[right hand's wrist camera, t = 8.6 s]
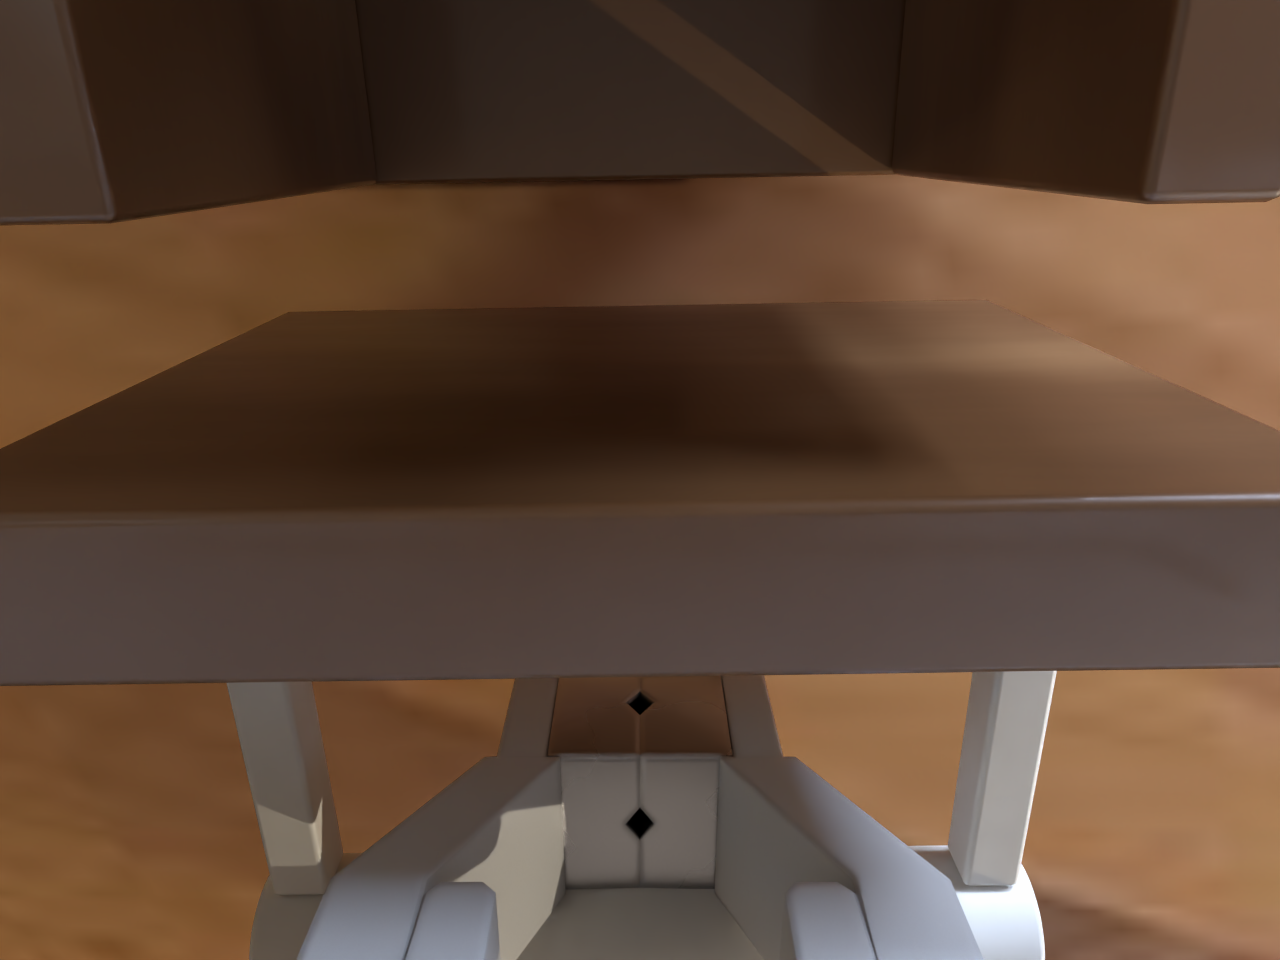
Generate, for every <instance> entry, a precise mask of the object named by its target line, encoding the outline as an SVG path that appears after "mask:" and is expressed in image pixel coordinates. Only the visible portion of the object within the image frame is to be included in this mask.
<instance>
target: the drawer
mask: <svg viewBox="0 0 1280 960" xmlns="http://www.w3.org/2000/svg"><path fill="white" fill-rule="evenodd" d="M895 174H897V175H903V176H912V177H921V178H929V179H938V180H946V181H955V182H963V183H972V184H980V185H989V186H997V187H1006V188H1014V189H1023V190H1032V191H1040V192H1049V193H1057V194H1066V195H1074V196H1083V197H1091V198H1100V199H1108V200H1117V201H1126V202H1134V203H1143V204H1180V203H1235V202H1267V201H1270V200H1272V199H1275V198H1277V197H1280V0H0V225H45V224H100V223H116V222H123V221H129V220H136V219H143V218H150V217H157V216H163V215H170V214H177V213H184V212H190V211H197V210H204V209H211V208H217V207H224V206H231V205H238V204H244V203H251V202H258V201H265V200H271V199H278V198H285V197H292V196H298V195H305V194H312V193H319V192H325V191H332V190H339V189H346V188H352V187H359V186H366V185H372V184H413V183H466V182H520V181H573V180H627V179H681V178H735V177H788V176H842V175H895ZM1217 668H1280V431H1279V430H1277V429H1274V428H1272V427H1270V426H1268V425H1265V424H1263V423H1261V422H1259V421H1257V420H1254V419H1252V418H1250V417H1248V416H1245V415H1243V414H1241V413H1239V412H1236V411H1234V410H1232V409H1230V408H1227V407H1225V406H1223V405H1221V404H1219V403H1216V402H1214V401H1212V400H1210V399H1207V398H1205V397H1203V396H1201V395H1198V394H1196V393H1194V392H1192V391H1190V390H1187V389H1185V388H1183V387H1181V386H1178V385H1176V384H1174V383H1172V382H1169V381H1167V380H1165V379H1163V378H1161V377H1158V376H1156V375H1154V374H1152V373H1149V372H1147V371H1145V370H1143V369H1140V368H1138V367H1136V366H1134V365H1132V364H1129V363H1127V362H1125V361H1123V360H1120V359H1118V358H1116V357H1114V356H1111V355H1109V354H1107V353H1105V352H1103V351H1100V350H1098V349H1096V348H1094V347H1091V346H1089V345H1087V344H1085V343H1082V342H1080V341H1078V340H1076V339H1073V338H1071V337H1069V336H1067V335H1065V334H1062V333H1060V332H1058V331H1056V330H1053V329H1051V328H1049V327H1047V326H1044V325H1042V324H1040V323H1038V322H1036V321H1033V320H1031V319H1029V318H1027V317H1024V316H1022V315H1020V314H1018V313H1015V312H1013V311H1011V310H1009V309H1007V308H1004V307H1002V306H1000V305H998V304H995V303H993V302H991V301H989V300H946V301H889V302H832V303H775V304H717V305H660V306H603V307H546V308H489V309H432V310H375V311H318V312H288V313H286V314H284V315H282V316H279V317H277V318H275V319H273V320H271V321H269V322H267V323H265V324H263V325H260V326H258V327H256V328H254V329H252V330H250V331H248V332H246V333H244V334H242V335H239V336H237V337H235V338H233V339H231V340H229V341H227V342H225V343H223V344H220V345H218V346H216V347H214V348H212V349H210V350H208V351H206V352H204V353H202V354H199V355H197V356H195V357H193V358H191V359H189V360H187V361H185V362H183V363H180V364H178V365H176V366H174V367H172V368H170V369H168V370H166V371H164V372H161V373H159V374H157V375H155V376H153V377H151V378H149V379H147V380H145V381H143V382H140V383H138V384H136V385H134V386H132V387H130V388H128V389H126V390H124V391H121V392H119V393H117V394H115V395H113V396H111V397H109V398H107V399H105V400H103V401H100V402H98V403H96V404H94V405H92V406H90V407H88V408H86V409H84V410H81V411H79V412H77V413H75V414H73V415H71V416H69V417H67V418H65V419H63V420H60V421H58V422H56V423H54V424H52V425H50V426H48V427H46V428H44V429H41V430H39V431H37V432H35V433H33V434H31V435H29V436H27V437H25V438H22V439H20V440H18V441H16V442H14V443H12V444H10V445H8V446H6V447H4V448H1V449H0V686H29V685H99V684H169V683H227V687H228V691H229V696H230V700H231V705H232V709H233V713H234V718H235V722H236V727H237V731H238V736H239V740H240V744H241V749H242V753H243V758H244V762H245V766H246V771H247V775H248V780H249V784H250V789H251V793H252V797H253V802H254V806H255V811H256V815H257V820H258V824H259V828H260V833H261V837H262V842H263V846H264V850H265V855H266V859H267V864H268V868H269V873H270V875H269V877H268V879H267V881H266V883H265V885H264V888H263V890H262V893H261V896H260V899H259V902H258V906H257V909H256V913H255V918H254V922H253V928H252V934H251V942H250V955H249V960H296V959H297V956H298V954H299V952H300V949H301V947H302V945H303V942H304V940H305V938H306V935H307V933H308V931H309V928H310V926H311V924H312V921H313V919H314V917H315V914H316V912H317V910H318V907H319V905H320V902H321V900H322V898H323V895H324V893H325V891H326V888H327V886H328V884H329V881H330V879H331V878H332V877H333V876H334V875H336V874H337V873H338V872H339V871H341V870H342V869H343V868H345V867H346V866H347V865H348V864H350V863H351V862H352V861H353V860H355V859H356V858H357V857H358V856H360V855H361V854H362V853H343V849H342V844H341V838H340V833H339V827H338V822H337V817H336V811H335V806H334V800H333V795H332V789H331V784H330V778H329V773H328V768H327V762H326V757H325V751H324V746H323V740H322V735H321V729H320V724H319V719H318V713H317V708H316V702H315V697H314V691H313V686H312V681H378V680H448V679H518V678H588V677H658V676H728V675H797V674H867V673H937V672H973V674H972V681H971V688H970V695H969V701H968V708H967V715H966V722H965V729H964V736H963V743H962V750H961V757H960V764H959V771H958V778H957V785H956V792H955V799H954V806H953V813H952V820H951V827H950V834H949V841H948V845H946V846H908V847H910V848H911V849H912V850H913V851H915V852H916V853H917V854H918V855H920V856H921V857H922V858H924V859H925V860H926V861H927V862H929V863H930V864H931V865H932V866H934V867H935V868H936V869H937V870H939V871H940V872H941V873H942V874H944V875H945V876H946V877H947V878H949V879H950V880H951V883H952V885H953V887H954V890H955V892H956V895H957V897H958V899H959V902H960V904H961V906H962V909H963V911H964V914H965V916H966V918H967V921H968V923H969V926H970V928H971V930H972V933H973V935H974V937H975V940H976V942H977V945H978V947H979V949H980V952H981V954H982V956H983V959H984V960H1045V947H1044V936H1043V928H1042V922H1041V917H1040V912H1039V908H1038V904H1037V901H1036V897H1035V894H1034V891H1033V888H1032V885H1031V883H1030V880H1029V878H1028V876H1027V873H1026V871H1025V869H1024V867H1023V866H1022V864H1021V862H1022V856H1023V851H1024V845H1025V840H1026V835H1027V829H1028V824H1029V818H1030V813H1031V808H1032V802H1033V797H1034V791H1035V786H1036V781H1037V775H1038V770H1039V764H1040V759H1041V754H1042V748H1043V743H1044V737H1045V732H1046V727H1047V721H1048V716H1049V710H1050V705H1051V699H1052V694H1053V689H1054V683H1055V678H1056V672H1057V671H1077V670H1147V669H1217ZM565 893H566V894H565V895H564V897H563V898H562V899H561V901H560V902H559V903H558V905H557V906H556V907H555V909H554V910H553V911H552V913H551V914H550V915H549V917H548V918H547V919H546V921H545V922H544V923H543V925H542V926H541V927H540V929H539V930H538V931H537V933H536V934H535V935H534V937H533V938H532V939H531V941H530V942H529V943H528V945H527V946H526V947H525V949H524V950H523V951H522V953H521V954H520V955H519V957H518V958H517V959H516V960H764V959H763V958H762V956H761V955H760V953H759V952H758V951H757V949H756V948H755V947H754V945H753V944H752V943H751V941H750V940H749V939H748V937H747V936H746V935H745V933H744V932H743V931H742V929H741V928H740V927H739V925H738V924H737V923H736V921H735V920H734V919H733V917H732V916H731V915H730V913H729V912H728V911H727V909H726V908H725V907H724V905H723V904H722V903H721V901H720V900H719V898H718V897H717V896H716V894H715V889H674V888H640V887H639V888H604V889H570V890H565Z"/></svg>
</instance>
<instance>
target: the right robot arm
mask: <svg viewBox="0 0 1280 960" xmlns="http://www.w3.org/2000/svg"><path fill="white" fill-rule="evenodd" d="M639 887H640V888H674V889H715V894H716V896H717V897H718V898H719V900H720V901H721V903H722V904H723V905H724V907H725V908H726V909H727V911H728V912H729V913H730V915H731V916H732V917H733V919H734V920H735V921H736V923H737V924H738V925H739V927H740V928H741V929H742V931H743V932H744V933H745V935H746V936H747V937H748V939H749V940H750V941H751V943H752V944H753V945H754V947H755V948H756V949H757V951H758V952H759V953H760V955H761V956H762V958H763V959H764V960H984V959H983V956H982V954H981V952H980V949H979V947H978V945H977V942H976V940H975V937H974V935H973V933H972V930H971V928H970V926H969V923H968V921H967V918H966V916H965V914H964V911H963V909H962V906H961V904H960V902H959V899H958V897H957V895H956V892H955V890H954V887H953V885H952V883H951V880H950V879H949V878H947V877H946V876H945V875H944V874H942V873H941V872H940V871H939V870H937V869H936V868H935V867H934V866H932V865H931V864H930V863H929V862H927V861H926V860H925V859H924V858H922V857H921V856H920V855H918V854H917V853H916V852H915V851H913V850H912V849H911V848H910V847H908V846H907V845H906V844H905V843H903V842H902V841H901V840H900V839H898V838H897V837H896V836H894V835H893V834H892V833H891V832H889V831H888V830H887V829H886V828H884V827H883V826H882V825H881V824H879V823H878V822H877V821H876V820H874V819H873V818H872V817H871V816H869V815H868V814H867V813H865V812H864V811H863V810H862V809H860V808H859V807H858V806H857V805H855V804H854V803H853V802H852V801H850V800H849V799H848V798H847V797H845V796H844V795H843V794H841V793H840V792H839V791H838V790H836V789H835V788H834V787H833V786H831V785H830V784H829V783H828V782H826V781H825V780H824V779H823V778H821V777H820V776H819V775H818V774H816V773H815V772H814V771H812V770H811V769H810V768H809V767H807V766H806V765H805V764H804V763H802V762H801V761H800V760H799V759H797V758H796V757H783V754H782V749H781V745H780V741H779V737H778V733H777V728H776V724H775V720H774V716H773V712H772V707H771V703H770V699H769V695H768V691H767V686H766V682H765V678H764V675H728V676H658V677H588V678H518V679H515V681H514V685H513V690H512V694H511V698H510V703H509V707H508V711H507V715H506V720H505V724H504V728H503V732H502V737H501V741H500V745H499V749H498V754H497V757H484V758H483V759H481V760H480V761H479V762H478V763H476V764H475V765H474V766H473V767H471V768H470V769H469V770H468V771H466V772H465V773H464V774H462V775H461V776H460V777H459V778H457V779H456V780H455V781H454V782H452V783H451V784H450V785H448V786H447V787H446V788H445V789H443V790H442V791H441V792H440V793H438V794H437V795H436V796H435V797H433V798H432V799H431V800H429V801H428V802H427V803H426V804H424V805H423V806H422V807H421V808H419V809H418V810H417V811H416V812H414V813H413V814H412V815H410V816H409V817H408V818H407V819H405V820H404V821H403V822H402V823H400V824H399V825H398V826H397V827H395V828H394V829H393V830H391V831H390V832H389V833H388V834H386V835H385V836H384V837H383V838H381V839H380V840H379V841H377V842H376V843H375V844H374V845H372V846H371V847H370V848H369V849H367V850H366V851H365V852H364V853H362V854H361V855H360V856H358V857H357V858H356V859H355V860H353V861H352V862H351V863H350V864H348V865H347V866H346V867H345V868H343V869H342V870H341V871H339V872H338V873H337V874H336V875H334V876H333V877H332V878H331V879H330V881H329V884H328V886H327V888H326V891H325V893H324V895H323V898H322V900H321V902H320V905H319V907H318V910H317V912H316V914H315V917H314V919H313V921H312V924H311V926H310V928H309V931H308V933H307V935H306V938H305V940H304V942H303V945H302V947H301V949H300V952H299V954H298V956H297V959H296V960H516V959H517V958H518V957H519V955H520V954H521V953H522V951H523V950H524V949H525V947H526V946H527V945H528V943H529V942H530V941H531V939H532V938H533V937H534V935H535V934H536V933H537V931H538V930H539V929H540V927H541V926H542V925H543V923H544V922H545V921H546V919H547V918H548V917H549V915H550V914H551V913H552V911H553V910H554V909H555V907H556V906H557V905H558V903H559V902H560V901H561V899H562V898H563V897H564V895H565V894H566V893H565V890H570V889H604V888H639Z"/></svg>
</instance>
